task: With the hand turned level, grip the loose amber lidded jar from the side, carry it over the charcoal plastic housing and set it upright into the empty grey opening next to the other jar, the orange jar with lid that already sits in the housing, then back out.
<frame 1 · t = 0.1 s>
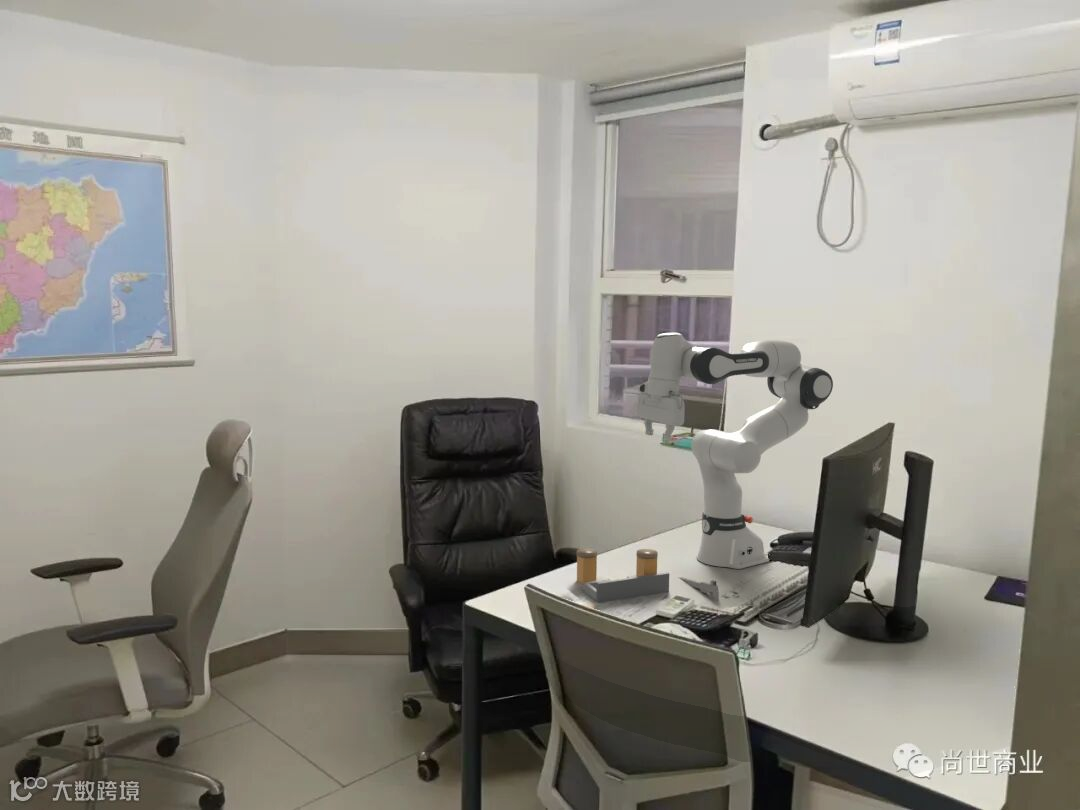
hand: (657, 437, 230), 39 cm above the table, tool pointing down, fingers open, 8 cm apart
amber lidded jar: (586, 585, 221), on the table
orange jar with lid: (646, 587, 217), resting on housing
housing: (624, 594, 214), on the table
caliper: (695, 593, 217), on the table
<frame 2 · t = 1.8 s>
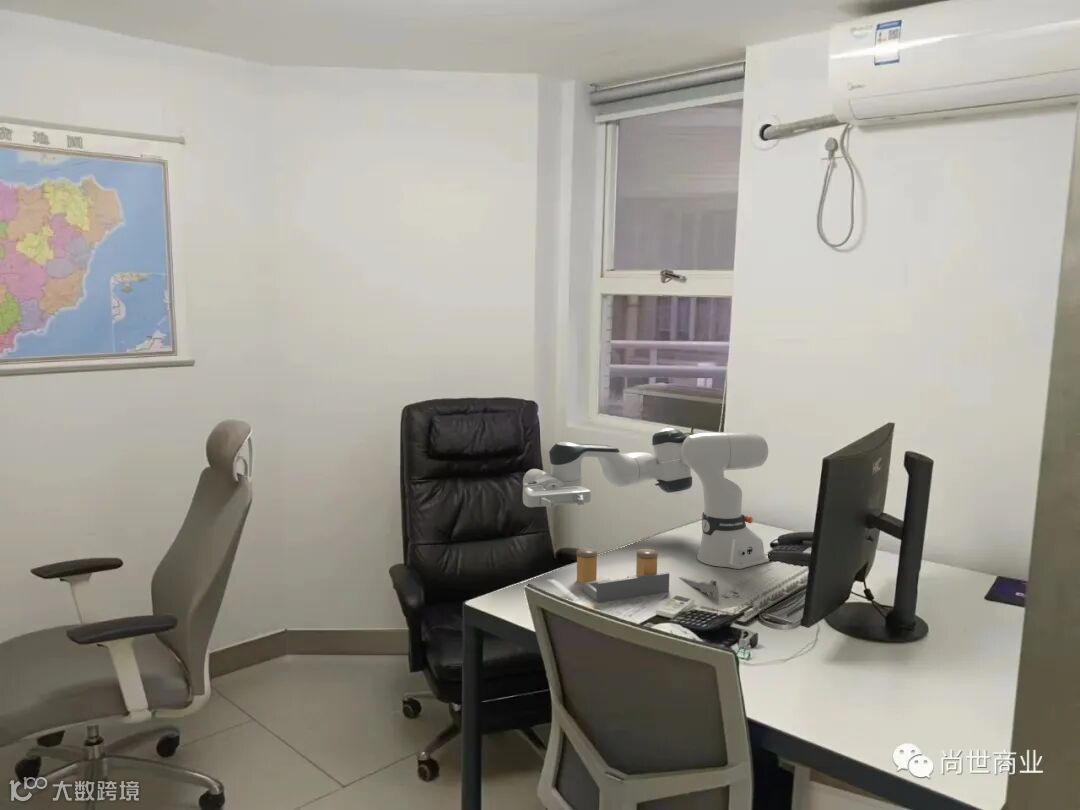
hand: (566, 503, 232), 20 cm above the table, tool horizontal, fingers open, 8 cm apart
nothing on the table moved.
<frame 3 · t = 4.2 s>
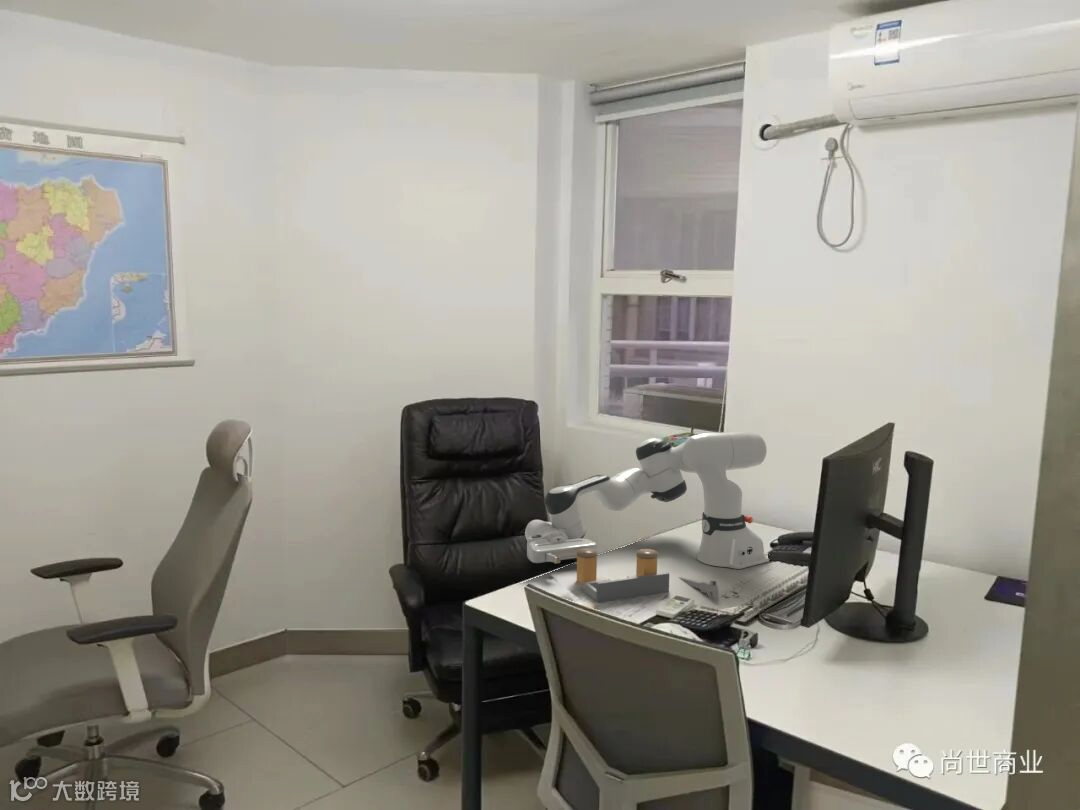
hand: (573, 558, 227), 5 cm above the table, tool horizontal, fingers open, 8 cm apart
nothing on the table moved.
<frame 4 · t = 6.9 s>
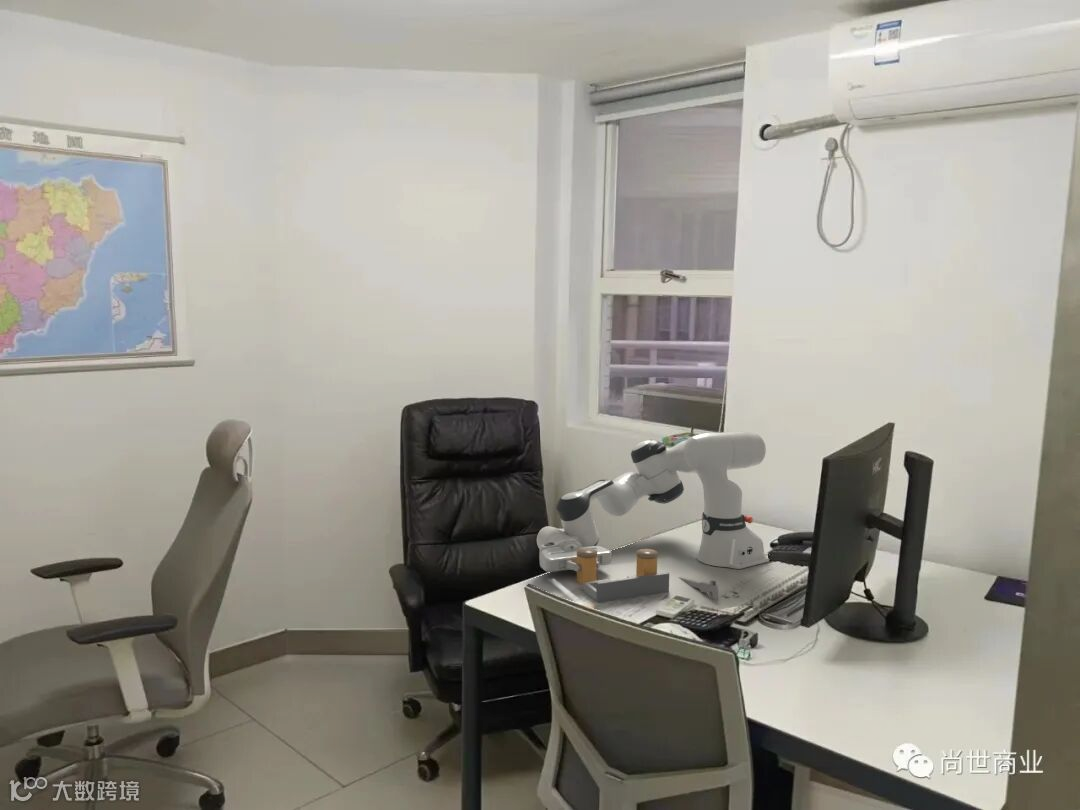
hand: (588, 567, 219), 6 cm above the table, tool horizontal, fingers closed on amber lidded jar, 4 cm apart
amber lidded jar: (586, 585, 221), on the table, touching gripper
everything else where it was.
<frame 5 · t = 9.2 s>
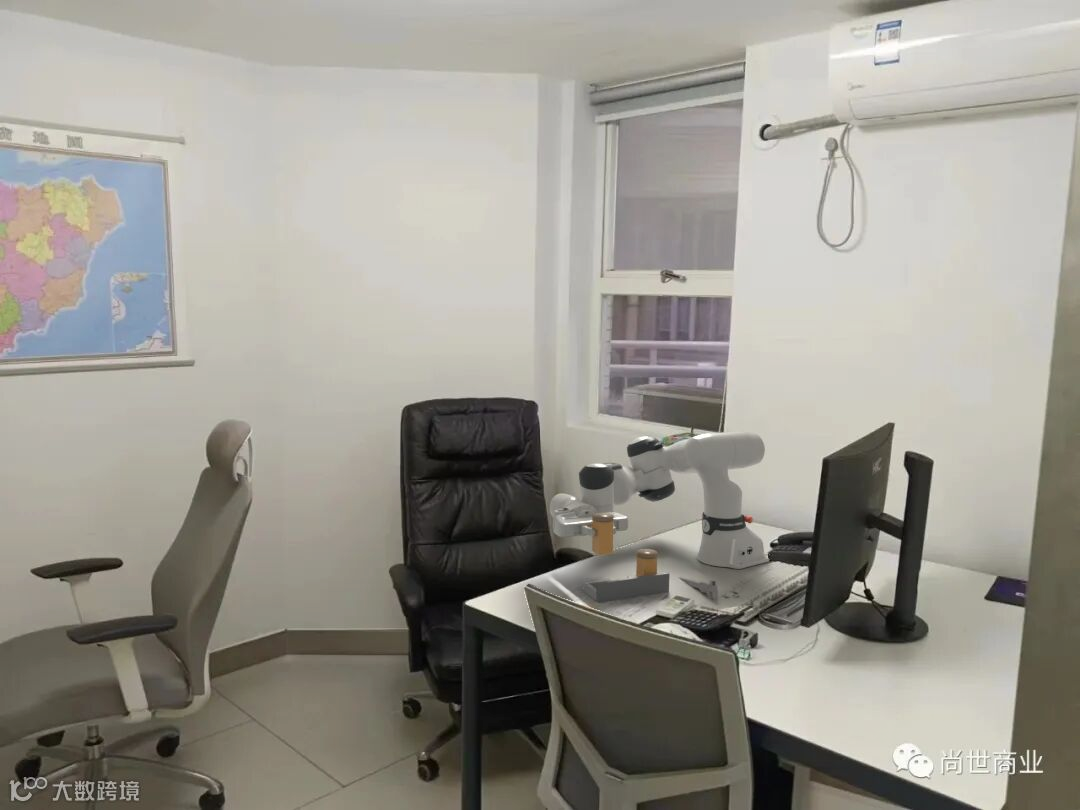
hand: (604, 532, 209), 18 cm above the table, tool horizontal, fingers closed on amber lidded jar, 4 cm apart
amber lidded jar: (602, 552, 211), point 12 cm above the table, touching gripper
everything else where it was.
when the fingers open (8 cm above the table, at t = 12.0 s): amber lidded jar stays where it is, resting on housing.
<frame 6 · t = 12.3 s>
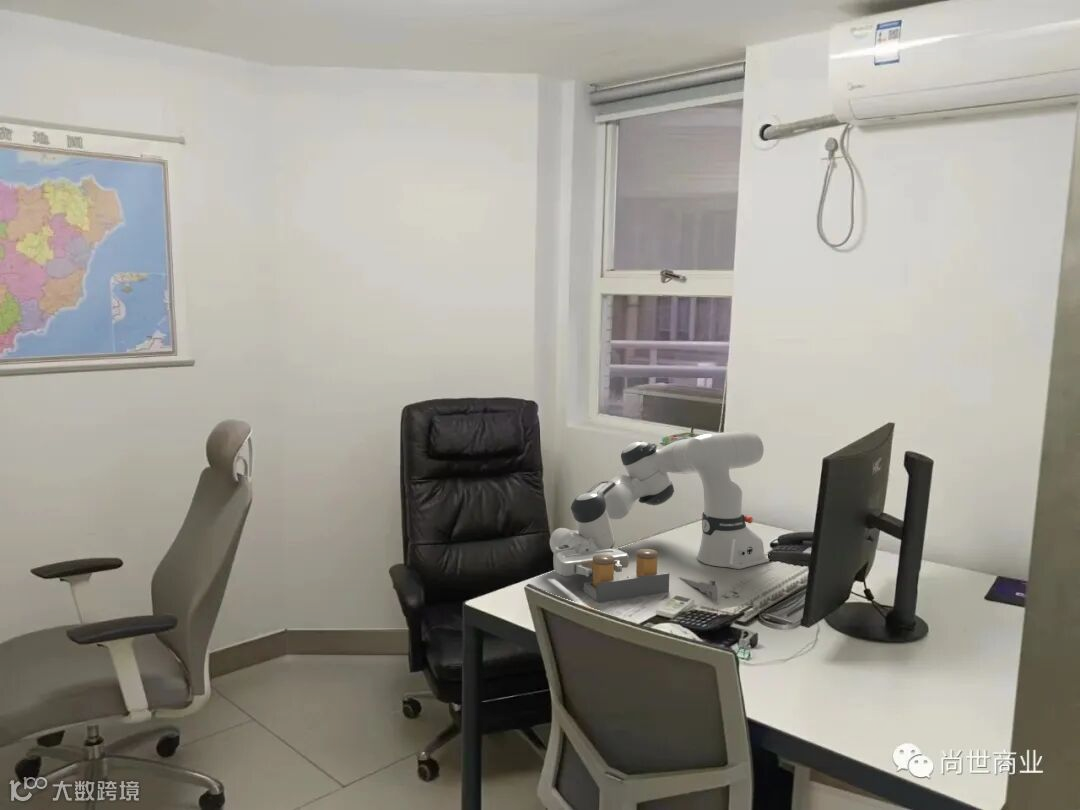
hand: (604, 571, 210), 8 cm above the table, tool horizontal, fingers open, 7 cm apart
amber lidded jar: (603, 593, 212), point 1 cm above the table, touching housing
everything else where it was.
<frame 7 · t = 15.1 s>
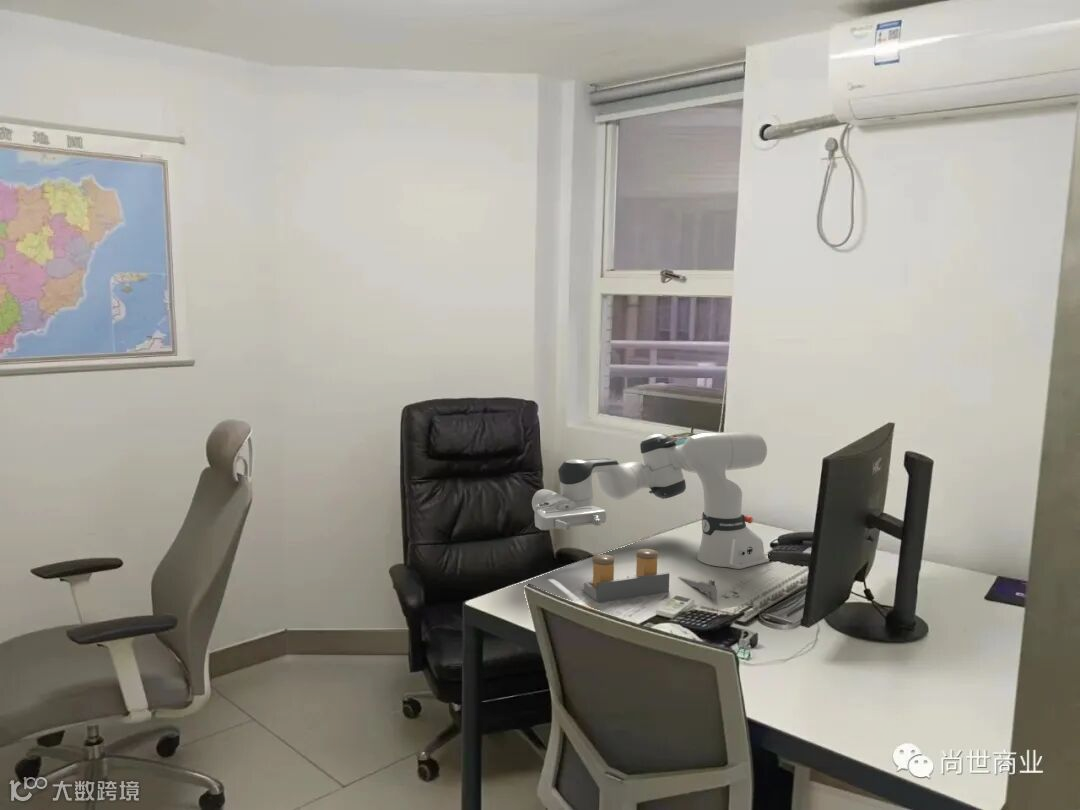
hand: (583, 524, 220), 17 cm above the table, tool horizontal, fingers open, 8 cm apart
nothing on the table moved.
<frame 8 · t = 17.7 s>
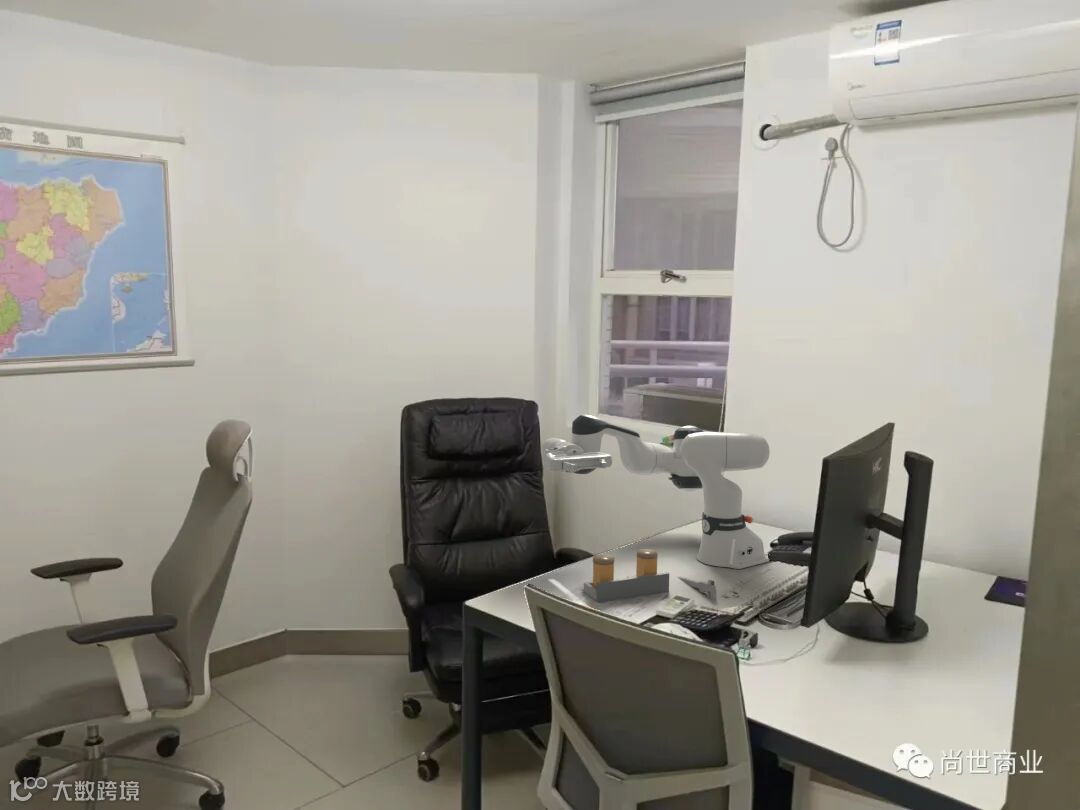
hand: (589, 466, 233), 30 cm above the table, tool horizontal, fingers open, 8 cm apart
nothing on the table moved.
at the end: amber lidded jar 0.0 cm from the target spot on the housing, point 1.2 cm above the housing's base; amber lidded jar tilted 0°; the gripper is holding nothing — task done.
